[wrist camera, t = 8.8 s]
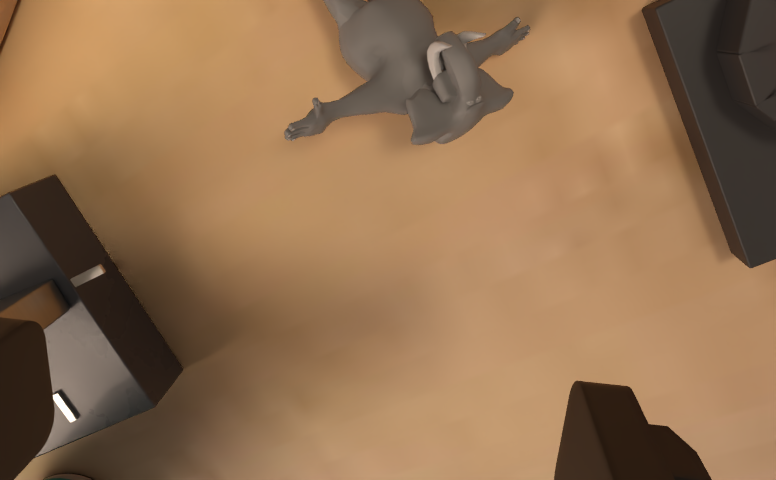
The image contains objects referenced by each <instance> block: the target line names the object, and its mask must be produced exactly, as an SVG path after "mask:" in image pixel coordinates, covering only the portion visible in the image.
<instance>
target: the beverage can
mask: <svg viewBox="0 0 776 480" xmlns="http://www.w3.org/2000/svg"><path fill="white" fill-rule="evenodd" d="M43 480H92V479H90V478H87V477H84V476H81V475H76V474H58V475H53V476H50V477H48V478H46V479H43Z"/></svg>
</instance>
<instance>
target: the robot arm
mask: <svg viewBox="0 0 776 480" xmlns="http://www.w3.org/2000/svg"><path fill="white" fill-rule="evenodd" d="M54 415H55V408H54V399H53V391H52V383H51V376H50V368H49V360H48V352H47V344H46V337H45V333H44V330H43V328H42V327H41V325H40V324H39V323H37V322H35V321H30V320H21V319H11V318H2V317H0V480H14V479H15V478H16V476H17V475H18V474H19V473H20V472H21V471H22V470H23V469H24V468H25V467H26V466H27V465H28V464H29V463H30V462H31V460H32V459H33V458H34V457H35V456H36V455H37V454H38V453H39V452H40V451H41V450H42V448H43V447H44V445H45V444H46V442H47V440H48V438H49V436H50V433H51V430H52V427H53V423H54ZM554 480H712V479H711V477H710V476H709V474H708V472H707V470H706V468H705V467H704V465H703V463H702V461H701V459H700V458H699V456H698V454H697V452H696V451H695V450H693V449H692V448H691V447H690V446H689V445H688V444H687V443H686V442H685V441H683V440H682V439H681V438H680V437H679V436H678V435H677V434H676V433H675V432H673V431H672V430H671V429H670V428H669V427H668V426H660V425H651V424H648V422H647V420H646V418H645V416H644V414H643V412H642V409H641V407H640V405H639V403H638V401H637V399H636V397H635V395H634V393H633V391H632V389H631V388H630V387H628V386H620V385H611V384H602V383H593V382H583V381H575V382H574V384H573V385H572V388H571V391H570V395H569V400H568V405H567V410H566V416H565V421H564V426H563V431H562V437H561V442H560V447H559V453H558V458H557V463H556V469H555V476H554Z"/></svg>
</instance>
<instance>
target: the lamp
mask: <svg viewBox="0 0 776 480" xmlns="http://www.w3.org/2000/svg"><path fill="white" fill-rule="evenodd" d="M16 3H17V0H0V45H1V42H2V40H3V37H4V35H5V32H6V30H7V27H8V24H9V22H10V19H11V16H12V14H13V11H14V8H15V6H16Z"/></svg>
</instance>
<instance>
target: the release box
mask: <svg viewBox="0 0 776 480" xmlns="http://www.w3.org/2000/svg"><path fill="white" fill-rule="evenodd" d="M642 12H643V15H644V18H645V20H646V23H647V26H648V29H649V31H650V34H651V37H652V39H653V42H654V45H655V47H656V50H657V53H658V56H659V58H660V61H661V64H662V66H663V69H664V72H665V75H666V77H667V80H668V83H669V85H670V88H671V91H672V94H673V96H674V99H675V102H676V104H677V107H678V110H679V113H680V115H681V118H682V121H683V123H684V126H685V129H686V131H687V134H688V137H689V140H690V142H691V145H692V148H693V150H694V153H695V156H696V159H697V161H698V164H699V167H700V169H701V172H702V175H703V178H704V180H705V183H706V186H707V188H708V191H709V194H710V197H711V199H712V202H713V205H714V207H715V210H716V213H717V215H718V218H719V221H720V224H721V226H722V229H723V232H724V234H725V237H726V240H727V243H728V245H729V248H730V251H731V253H732V254H734V255H735V256H736V257H737V258H738V259H739V260H741V261H742V262H743V263H744V264H745V265H747V266H748V267H749V268H753V267H756V266H758V265H761V264H764V263H766V262H769V261H771V260H774V259H776V0H658V1H656V2H654V3H652V4H650V5H647V6H645V7H644V8H643V9H642Z"/></svg>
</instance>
